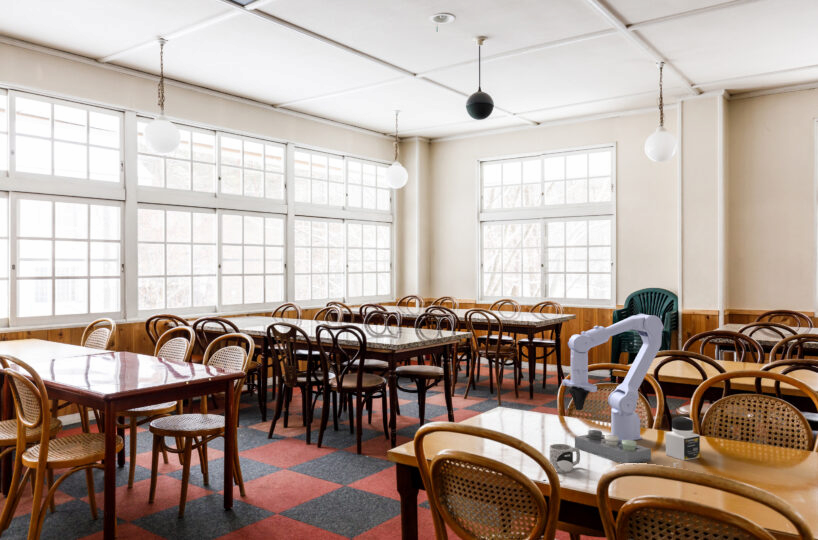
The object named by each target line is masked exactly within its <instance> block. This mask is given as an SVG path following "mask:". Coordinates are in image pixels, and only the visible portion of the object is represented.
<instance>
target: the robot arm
mask: <svg viewBox="0 0 818 540" xmlns="http://www.w3.org/2000/svg"><path fill="white" fill-rule="evenodd" d="M664 328H665V327H664V324H663V322H662V320H661V318H660V317H659V316H657V315H649V314H645V313H638V314H636V315H630V316H629V317H627V318H625V319H623V320H620V321H618V322H616V323H613V324H611V325H609V326H607V327H605V326H601V325H600V326H599V325H595V326H593V328H592V329H588V330H586V331H584V330H583V331H581V332H580V334H576V333H575V334H572V335H571V337H570V338H569V339H568V341H567V346H568V348H569V349H570V379H567V378H566V379H562V380H561V381H562V382H561V385H562V386H564V387H565V386H566V387H570V388H568V391H569V393H570V395H571V399H572V401H573V404H574V408H575V411H582V410H584V406H585V402H586V399H587V398H588V396H589V394H590V392H591V393H596V392H598V386H597V385H596V384H595V385H594V384H592V383H590V382H589V364H588V363H589V355H588V353H589V351H590V349H591V348H594V347H597V346H599V345H602V344H604V343H607V342H608V341H609V339H610V338H611V337H613V336H616V335H618V334H621V333H624V332H627V331H631V330H634V331H636V332H637V334H638V335H639V336H640V337H641V341H642V345H641V347H640V349H639V351H638V353H637V355H636V356H635V359H634V360H633V362H632V364H631V366H630V368H629V370H628V372H627V374H626V376H625V377H624V378H623V379H624V380H623V381H622V383H620V384H619V385H617V386H616V388H615V389H614V390H613V391H612V392H611V393H609V396H608V398H607V402H608V405H609V406H610V407H611V410H610V413H611V414H610V415H611V416H610V417H611V418H610V419H611V424H610V426H611V427H610V428H611V429H610V430H611V434H610V435H616V436H618V437H619V440H633V441H636V440H641V439H643V437H642V436H641V419H640V416H639V414H638V413H637V412H636V409H637V406H638V405H637V402H638V400H639V397H640V396H639V395H640V394H639V391H638V390H639V388H640V386H641V385H642V383H643V381H644V378H645V377H646V375H647V374H648V371H649V370H650V367H651V366H652V365H653V362H654V360H655V358H656V357H657V354H658V353H659V350H660V348H661V347H662V340H663V339H662V336H663V330H664Z"/></svg>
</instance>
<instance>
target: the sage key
mask: <svg viewBox="0 0 818 540" xmlns="http://www.w3.org/2000/svg"><path fill="white" fill-rule="evenodd" d="M636 445H637V441H636V440H622V446H623V449H625V450H628V451H633V450H635V447H636Z"/></svg>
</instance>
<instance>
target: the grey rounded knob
mask: <svg viewBox="0 0 818 540" xmlns="http://www.w3.org/2000/svg"><path fill="white" fill-rule="evenodd" d="M602 433H603V432H602V431H601V430H599V429H589V430H588V432H587V435H589V438H590V439H593V440H599V439H601V436H602V435H603V434H602Z"/></svg>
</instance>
